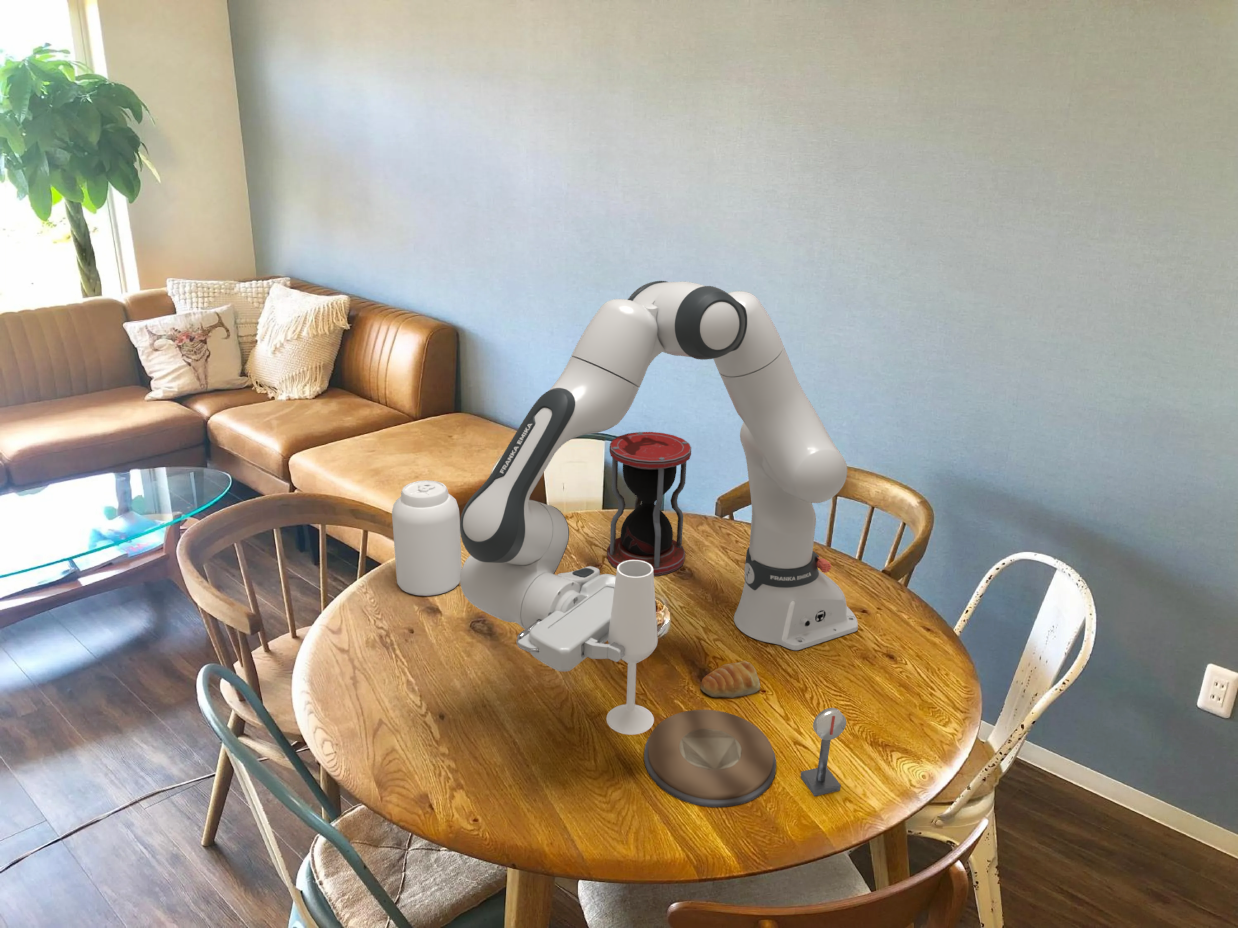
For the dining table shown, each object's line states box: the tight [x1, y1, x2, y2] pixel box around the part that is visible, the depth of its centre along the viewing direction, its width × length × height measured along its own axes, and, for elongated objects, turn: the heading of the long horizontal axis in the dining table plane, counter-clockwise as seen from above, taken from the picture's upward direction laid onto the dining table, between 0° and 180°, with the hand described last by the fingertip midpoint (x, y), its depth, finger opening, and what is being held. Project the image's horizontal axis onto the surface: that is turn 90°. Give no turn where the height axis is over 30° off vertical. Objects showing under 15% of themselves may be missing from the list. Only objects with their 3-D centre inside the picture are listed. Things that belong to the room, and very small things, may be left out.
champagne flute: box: [606, 560, 659, 736], centre depth 124 cm, size 7×7×24 cm
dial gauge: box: [800, 707, 847, 797], centre depth 127 cm, size 4×4×13 cm
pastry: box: [700, 660, 761, 699], centre depth 149 cm, size 9×7×4 cm
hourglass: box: [606, 431, 692, 577], centre depth 186 cm, size 16×16×25 cm
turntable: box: [643, 709, 777, 808], centre depth 133 cm, size 19×19×2 cm
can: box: [391, 479, 463, 597], centre depth 175 cm, size 12×12×20 cm
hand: (638, 640), depth 123 cm, fingers closed on champagne flute, 7 cm apart
